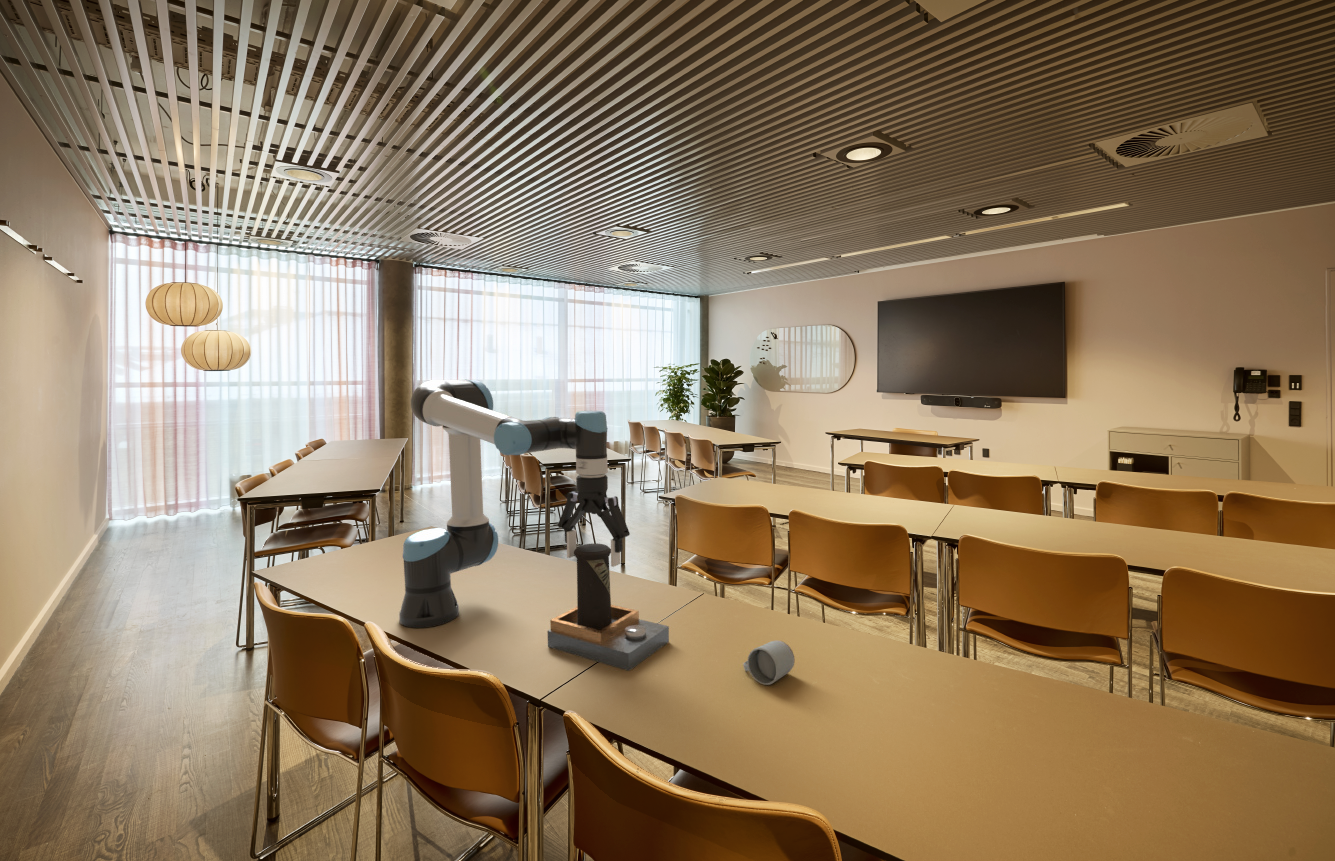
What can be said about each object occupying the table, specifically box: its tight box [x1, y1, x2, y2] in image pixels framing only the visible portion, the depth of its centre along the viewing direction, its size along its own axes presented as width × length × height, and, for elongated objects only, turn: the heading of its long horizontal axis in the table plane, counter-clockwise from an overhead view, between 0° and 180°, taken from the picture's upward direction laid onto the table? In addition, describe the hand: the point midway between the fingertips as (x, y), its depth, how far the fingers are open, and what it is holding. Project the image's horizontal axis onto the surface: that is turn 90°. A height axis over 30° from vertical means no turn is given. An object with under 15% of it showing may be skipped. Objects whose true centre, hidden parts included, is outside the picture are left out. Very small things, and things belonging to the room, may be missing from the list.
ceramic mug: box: [742, 640, 795, 686], centre depth 132 cm, size 11×8×8 cm
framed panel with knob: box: [546, 604, 670, 672], centre depth 148 cm, size 24×17×6 cm
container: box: [574, 543, 612, 630], centre depth 149 cm, size 9×9×20 cm
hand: (593, 560), depth 149 cm, fingers open, 13 cm apart
